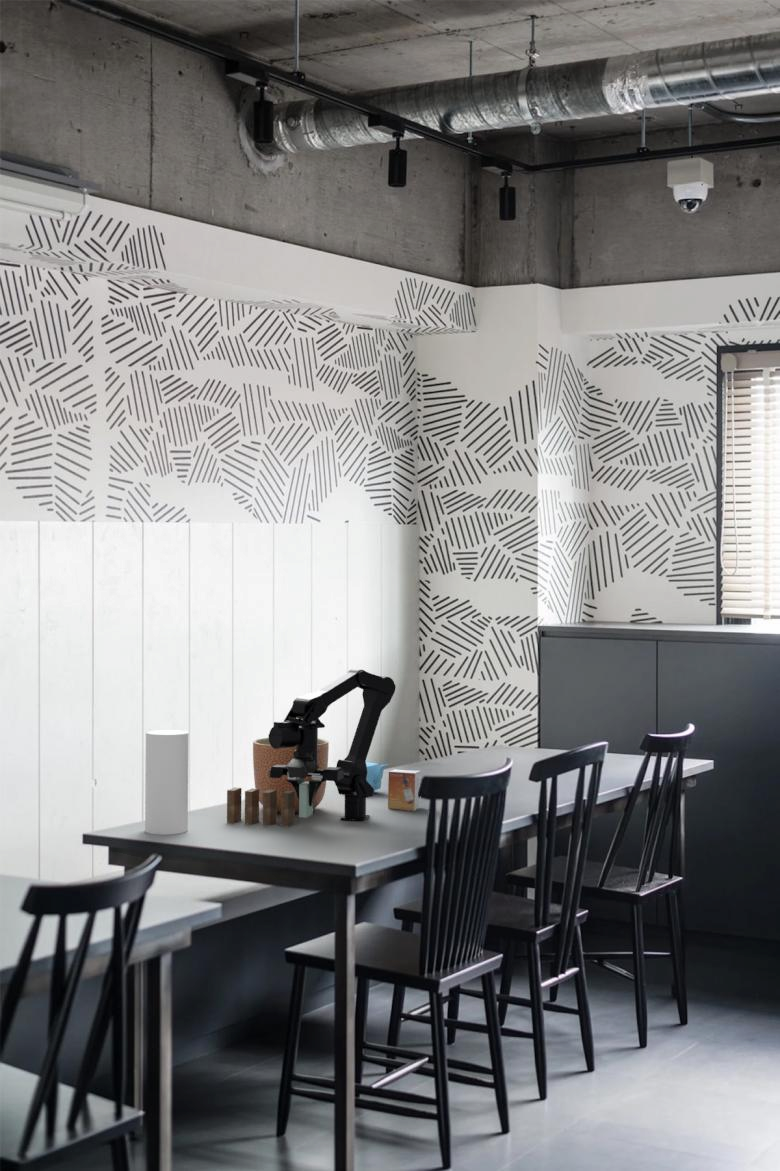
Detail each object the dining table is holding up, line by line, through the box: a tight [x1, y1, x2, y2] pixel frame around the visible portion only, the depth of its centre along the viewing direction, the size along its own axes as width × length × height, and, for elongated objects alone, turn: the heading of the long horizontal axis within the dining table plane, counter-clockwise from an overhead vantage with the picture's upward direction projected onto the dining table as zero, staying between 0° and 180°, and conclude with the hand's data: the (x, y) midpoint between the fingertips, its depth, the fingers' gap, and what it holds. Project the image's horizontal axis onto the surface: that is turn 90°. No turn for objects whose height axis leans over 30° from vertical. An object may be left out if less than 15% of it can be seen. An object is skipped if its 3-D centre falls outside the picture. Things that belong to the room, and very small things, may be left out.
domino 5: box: [298, 781, 314, 819], centre depth 371 cm, size 2×5×8 cm, turn 164°
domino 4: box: [280, 791, 296, 827], centre depth 373 cm, size 2×5×8 cm, turn 164°
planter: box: [252, 737, 329, 814], centre depth 395 cm, size 21×21×19 cm
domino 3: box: [262, 790, 278, 826], centre depth 374 cm, size 2×5×8 cm, turn 164°
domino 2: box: [244, 788, 260, 825], centre depth 375 cm, size 2×5×8 cm, turn 164°
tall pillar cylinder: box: [144, 729, 189, 836], centre depth 362 cm, size 11×11×25 cm
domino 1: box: [226, 787, 242, 824], centre depth 377 cm, size 2×5×8 cm, turn 164°
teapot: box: [366, 762, 388, 794], centre depth 426 cm, size 18×14×10 cm
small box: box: [387, 768, 422, 811], centre depth 399 cm, size 8×6×10 cm
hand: (306, 805), depth 371 cm, fingers closed on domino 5, 2 cm apart
